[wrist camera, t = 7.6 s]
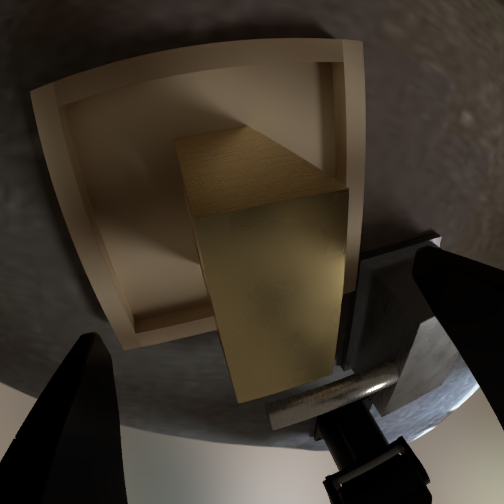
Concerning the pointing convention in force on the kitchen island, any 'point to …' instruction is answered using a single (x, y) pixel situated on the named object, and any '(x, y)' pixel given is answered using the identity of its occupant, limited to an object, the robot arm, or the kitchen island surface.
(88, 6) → the kitchen island surface
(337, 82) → the tray
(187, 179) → the wooden block
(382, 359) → the vise block
